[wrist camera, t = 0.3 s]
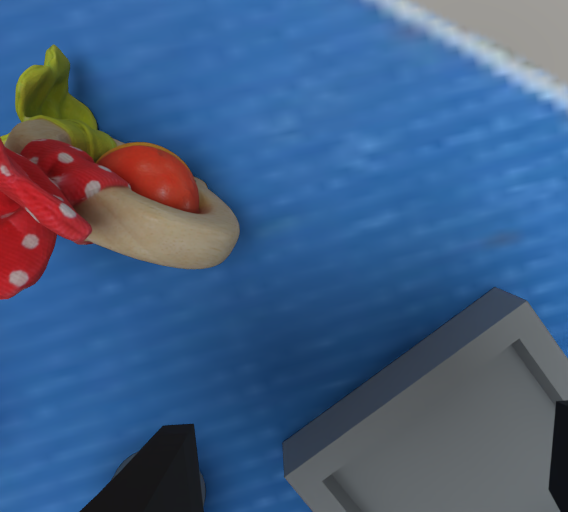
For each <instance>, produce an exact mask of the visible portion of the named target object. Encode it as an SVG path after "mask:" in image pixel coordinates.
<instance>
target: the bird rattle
mask: <svg viewBox="0 0 568 512" xmlns="http://www.w3.org/2000/svg"><path fill="white" fill-rule="evenodd" d="M69 70H70V62H69V60H68V59H67V58H66V57H65V55H64V54H63V53H62V52H61V50H60V49H59V48H58V47H57V46H55V45H52V46H51V47H50V48H49V49H48V50H47V51H46V54H45V62H44V66H43V65H33V66H31V67H29V68H28V69H27V70H26V71H25V72H23V73H22V75H21V76H20V78H19V80H18V82H17V85H16V96H15V106H16V112H17V115H18V117H19V119H20V120H21V123H19V124H17V125H16V126H15V127H14V128H13V129H12V131H11V132H10V133H9V134H7V135H4V136H1V137H0V299H9V298H11V297H13V296H15V295H16V294H18V293H19V292H20V291H22V290H24V289H26V288H28V287H30V286H32V285H34V284H35V283H36V282H37V281H38V280H39V279H40V277H41V276H42V274H43V272H44V271H45V269H46V266H47V264H48V261H49V259H50V256H51V254H52V252H53V249H54V246H55V242H56V237H57V234H58V235H59V236H62V237H64V238H66V239H69V240H71V241H73V242H75V243H77V244H80V245H87V244H93V243H95V244H97V245H100V246H102V247H105V248H107V249H110V250H113V251H115V252H118V253H121V254H123V255H126V256H129V257H132V258H135V259H139V260H142V261H146V262H150V263H154V264H159V265H163V266H169V267H175V268H183V269H204V268H209V267H213V266H216V265H218V264H220V263H222V262H223V261H224V260H225V259H226V258H227V257H228V256H229V254H230V253H231V252H232V250H233V248H234V246H235V244H236V242H237V240H238V237H239V231H240V229H239V223H238V220H237V218H236V216H235V215H234V213H233V212H232V210H231V209H230V208H229V207H228V206H227V205H226V204H225V203H224V202H223V201H222V200H221V199H220V198H219V197H218V196H216V195H215V194H214V193H213V192H211V191H210V190H209V189H208V188H207V185H206V183H205V182H204V181H202V180H200V179H198V178H196V177H194V176H193V175H192V173H191V171H190V169H189V168H188V166H187V165H186V164H185V163H184V162H183V161H182V160H181V159H180V158H179V157H178V156H177V155H176V154H174V153H173V152H171V151H169V150H168V149H165V148H163V147H161V146H158V145H155V144H151V143H146V142H133V143H126V144H125V143H123V142H120V141H118V140H116V139H113V138H111V137H110V136H109V135H108V134H106V133H104V132H102V131H98V130H97V123H96V120H95V118H94V116H93V114H92V112H91V111H90V110H89V108H88V107H86V106H85V105H84V104H83V103H81V102H80V101H78V100H77V99H75V98H74V97H73V96H71V95H70V94H69V93H68V77H69Z"/></svg>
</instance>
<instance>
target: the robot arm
mask: <svg viewBox="0 0 568 512" xmlns="http://www.w3.org/2000/svg"><path fill="white" fill-rule="evenodd" d="M548 490H549V492H550V493H551V495H552V497H553V499H554V501H555V503H556V504H557V506H558V508H559V510H560V512H568V400H565V401H556V408H555V419H554V430H553V442H552V453H551V464H550V476H549V487H548ZM80 512H204V509H203V500H202V491H201V482H200V474H199V465H198V456H197V447H196V438H195V429H194V424H183V425H167V426H162V427H161V428H160V429H159V431H158V432H157V433H156V434H155V435H154V436H153V437H152V438H151V439H150V440H149V441H148V442H147V443H146V444H145V445H144V446H143V447H142V449H141V450H140V451H139V452H138V453H137V454H136V455H135V456H134V457H133V458H132V459H131V460H130V461H129V462H128V464H127V465H126V466H125V467H124V468H123V469H122V470H121V471H120V472H119V473H118V474H117V475H116V476H115V477H114V478H113V479H112V480H111V481H110V482H109V483H108V484H107V485H106V486H105V487H104V488H103V489H102V490H101V492H100V493H99V494H98V495H97V496H96V497H94V498H93V499H92V500H91V501H90V502H89V503H88V504H87V505H86V506H85V507H84V508H83V509H82V510H81V511H80Z"/></svg>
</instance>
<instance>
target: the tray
mask: <svg viewBox="0 0 568 512" xmlns="http://www.w3.org/2000/svg"><path fill="white" fill-rule="evenodd" d="M565 400H568V359H567V357H566V356H565V354H564V353H563V351H562V350H561V349H560V347H559V346H558V344H557V343H556V341H555V340H554V339H553V337H552V336H551V334H550V333H549V331H548V330H547V329H546V327H545V326H544V324H543V323H542V321H541V320H540V319H539V317H538V316H537V314H536V313H535V311H534V310H533V309H532V307H531V306H530V304H529V303H528V301H526V300H524V299H522V298H519V297H517V296H515V295H512V294H510V293H508V292H506V291H503V290H501V289H499V288H496V287H495V288H493V289H492V290H490V291H489V292H488V293H486V294H485V295H484V296H482V297H481V298H480V299H478V300H477V301H475V302H474V303H473V304H471V305H470V306H469V307H467V308H466V309H464V310H463V311H462V312H460V313H459V314H458V315H456V316H455V317H454V318H452V319H451V320H449V321H448V322H447V323H445V324H444V325H443V326H441V327H440V328H439V329H437V330H436V331H434V332H433V333H432V334H430V335H429V336H428V337H426V338H425V339H424V340H422V341H421V342H419V343H418V344H417V345H415V346H414V347H413V348H411V349H410V350H409V351H407V352H406V353H404V354H403V355H402V356H400V357H399V358H398V359H396V360H395V361H394V362H392V363H391V364H389V365H388V366H387V367H385V368H384V369H383V370H381V371H380V372H379V373H377V374H376V375H374V376H373V377H372V378H370V379H369V380H368V381H366V382H365V383H364V384H362V385H361V386H359V387H358V388H357V389H355V390H354V391H353V392H351V393H350V394H349V395H347V396H346V397H344V398H343V399H342V400H340V401H339V402H338V403H336V404H335V405H334V406H332V407H331V408H329V409H328V410H327V411H325V412H324V413H323V414H321V415H320V416H319V417H317V418H316V419H314V420H313V421H312V422H310V423H309V424H308V425H306V426H305V427H304V428H302V429H301V430H299V431H298V432H297V433H295V434H294V435H293V436H291V437H290V438H288V439H287V440H286V441H284V442H283V443H282V445H283V462H284V478H285V479H286V480H287V481H288V482H289V484H290V485H291V486H292V487H293V488H294V490H295V491H296V492H297V493H298V494H299V496H300V497H301V498H302V499H303V500H304V502H305V503H306V504H307V505H308V506H309V508H310V509H311V510H312V511H313V512H560V510H559V508H558V506H557V504H556V503H555V501H554V499H553V497H552V495H551V493H550V492H549V490H548V487H549V476H550V464H551V453H552V442H553V430H554V419H555V408H556V401H565Z"/></svg>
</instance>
